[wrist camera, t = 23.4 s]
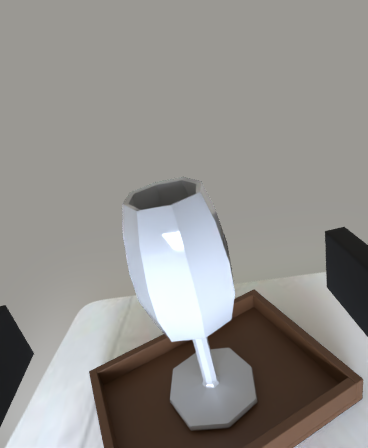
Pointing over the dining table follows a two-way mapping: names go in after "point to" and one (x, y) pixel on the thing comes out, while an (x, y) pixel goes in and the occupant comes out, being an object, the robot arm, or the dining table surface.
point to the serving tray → (263, 377)
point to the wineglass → (188, 295)
